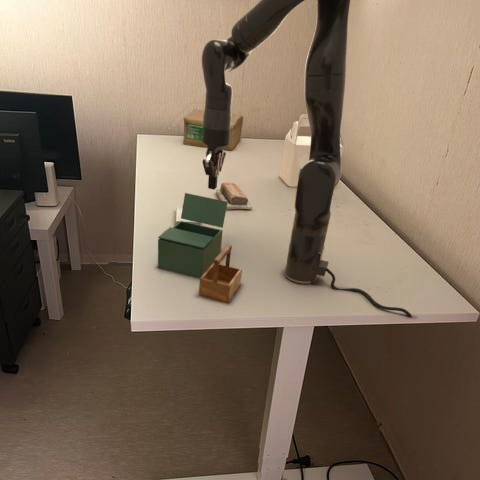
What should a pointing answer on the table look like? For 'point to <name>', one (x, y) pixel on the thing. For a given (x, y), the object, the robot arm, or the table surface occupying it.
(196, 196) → the flap
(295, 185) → the gable box
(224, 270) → the basket
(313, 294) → the table surface
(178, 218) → the hard drive
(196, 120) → the paper package
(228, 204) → the packaged product
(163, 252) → the carton
